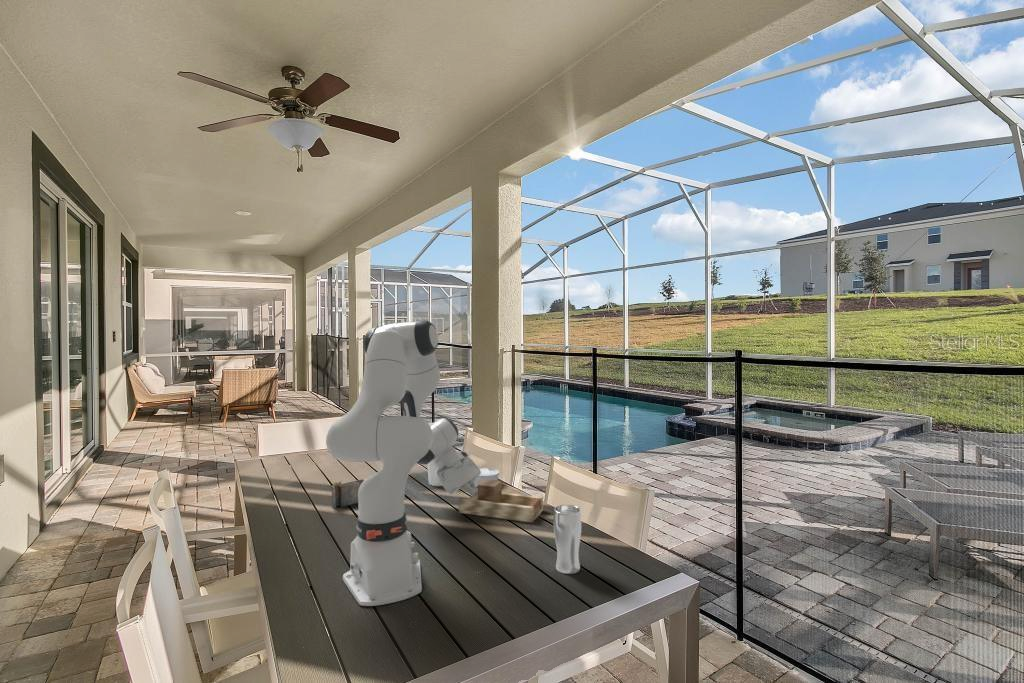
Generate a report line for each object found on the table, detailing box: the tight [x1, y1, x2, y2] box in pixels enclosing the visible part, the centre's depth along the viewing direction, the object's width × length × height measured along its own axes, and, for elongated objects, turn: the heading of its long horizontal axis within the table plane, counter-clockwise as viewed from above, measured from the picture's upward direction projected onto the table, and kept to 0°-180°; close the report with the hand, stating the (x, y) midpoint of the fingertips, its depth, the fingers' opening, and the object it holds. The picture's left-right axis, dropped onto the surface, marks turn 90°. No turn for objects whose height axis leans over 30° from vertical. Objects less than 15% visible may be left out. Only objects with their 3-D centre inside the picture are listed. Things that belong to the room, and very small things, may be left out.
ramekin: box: [473, 467, 500, 488], centre depth 189 cm, size 11×11×5 cm
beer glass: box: [553, 504, 582, 575], centre depth 120 cm, size 7×7×15 cm
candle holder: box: [426, 461, 443, 487], centre depth 192 cm, size 10×10×12 cm
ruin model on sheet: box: [331, 479, 365, 509], centre depth 169 cm, size 11×3×10 cm, turn 133°
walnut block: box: [477, 480, 503, 503], centre depth 161 cm, size 6×6×8 cm
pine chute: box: [458, 492, 544, 523], centre depth 160 cm, size 26×11×4 cm, turn 69°
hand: (475, 494), depth 163 cm, fingers closed
